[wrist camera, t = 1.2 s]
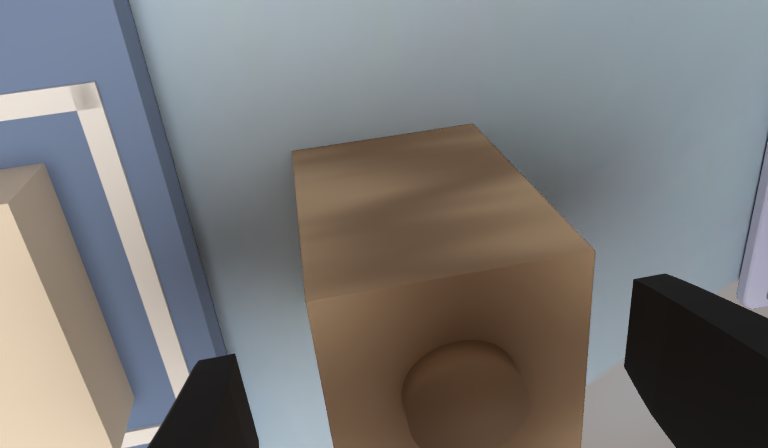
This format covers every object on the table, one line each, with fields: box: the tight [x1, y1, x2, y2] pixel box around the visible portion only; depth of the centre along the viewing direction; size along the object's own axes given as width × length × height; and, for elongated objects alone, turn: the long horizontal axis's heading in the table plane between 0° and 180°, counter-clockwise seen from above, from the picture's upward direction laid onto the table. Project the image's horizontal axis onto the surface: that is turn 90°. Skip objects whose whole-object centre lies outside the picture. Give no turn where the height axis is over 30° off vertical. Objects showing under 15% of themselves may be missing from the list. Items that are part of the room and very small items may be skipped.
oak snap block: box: [292, 124, 595, 448], centre depth 13 cm, size 4×4×7 cm
